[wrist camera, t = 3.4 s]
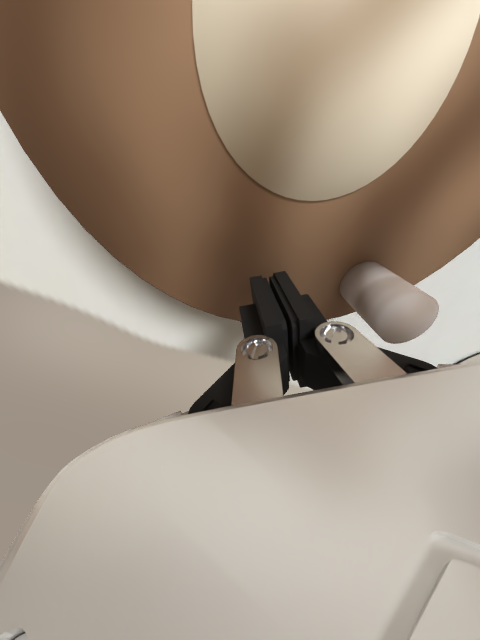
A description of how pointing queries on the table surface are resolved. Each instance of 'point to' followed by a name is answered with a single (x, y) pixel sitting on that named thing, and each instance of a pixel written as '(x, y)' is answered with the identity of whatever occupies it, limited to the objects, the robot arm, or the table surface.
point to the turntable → (258, 142)
